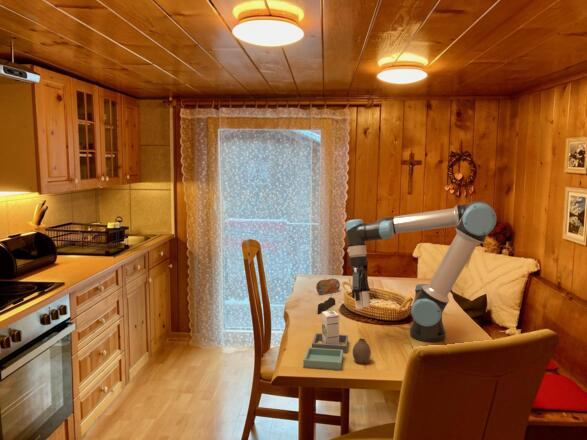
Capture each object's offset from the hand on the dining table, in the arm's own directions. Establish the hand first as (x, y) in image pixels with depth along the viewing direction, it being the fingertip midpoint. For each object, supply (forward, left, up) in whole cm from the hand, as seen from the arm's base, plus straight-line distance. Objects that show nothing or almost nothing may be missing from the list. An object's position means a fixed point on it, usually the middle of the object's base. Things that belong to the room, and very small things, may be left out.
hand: (363, 307), depth 198 cm
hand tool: (+20, -46, -17) cm, 53 cm away
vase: (0, +16, -17) cm, 23 cm away
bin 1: (+13, +3, -16) cm, 21 cm away
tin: (+22, -75, -17) cm, 80 cm away
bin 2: (+14, +19, -16) cm, 29 cm away
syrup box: (+13, +3, -17) cm, 21 cm away
